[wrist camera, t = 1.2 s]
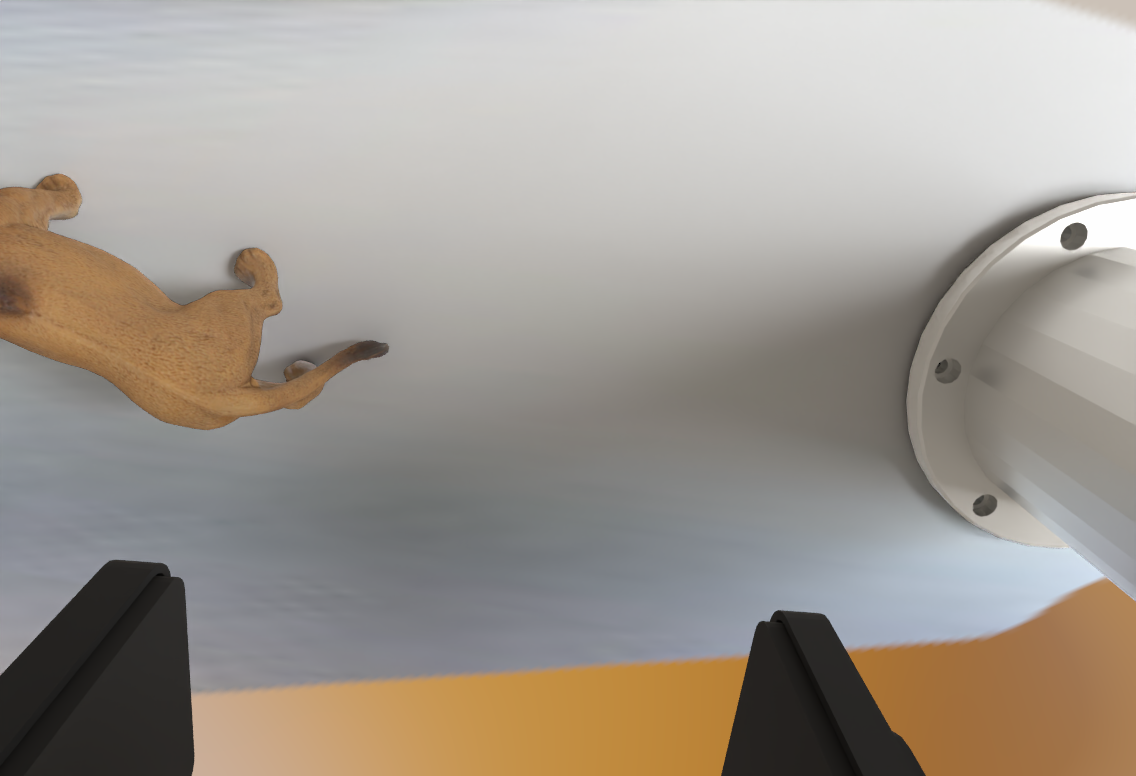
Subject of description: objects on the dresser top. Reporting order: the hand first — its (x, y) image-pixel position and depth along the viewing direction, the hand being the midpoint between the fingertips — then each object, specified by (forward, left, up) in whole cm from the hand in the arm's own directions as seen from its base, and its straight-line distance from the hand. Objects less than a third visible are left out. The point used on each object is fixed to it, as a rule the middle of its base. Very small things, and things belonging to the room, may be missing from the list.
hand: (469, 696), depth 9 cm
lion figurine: (+12, 0, -18) cm, 21 cm away
